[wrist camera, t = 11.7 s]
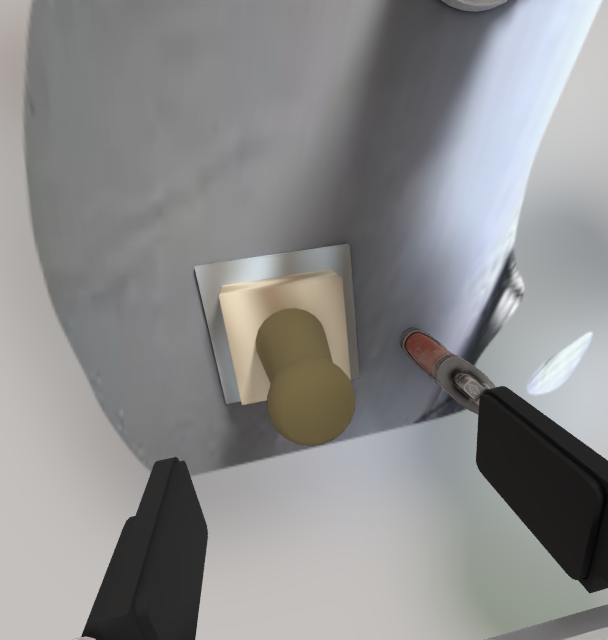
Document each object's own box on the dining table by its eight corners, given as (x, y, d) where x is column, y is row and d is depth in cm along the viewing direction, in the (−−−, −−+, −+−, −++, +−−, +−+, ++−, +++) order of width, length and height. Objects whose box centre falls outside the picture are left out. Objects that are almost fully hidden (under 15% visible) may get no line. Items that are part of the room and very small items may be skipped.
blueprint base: (347, 243, 31) (364, 249, 27) (357, 375, 36) (373, 398, 32) (195, 265, 30) (186, 275, 25) (226, 400, 34) (223, 428, 30)
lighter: (392, 344, 36) (445, 393, 26) (414, 320, 35) (476, 361, 26) (439, 384, 38) (502, 441, 29) (460, 362, 38) (532, 413, 28)
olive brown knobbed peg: (321, 375, 30) (360, 462, 20) (252, 373, 29) (256, 464, 19) (330, 310, 28) (379, 369, 18) (258, 305, 27) (266, 365, 17)
